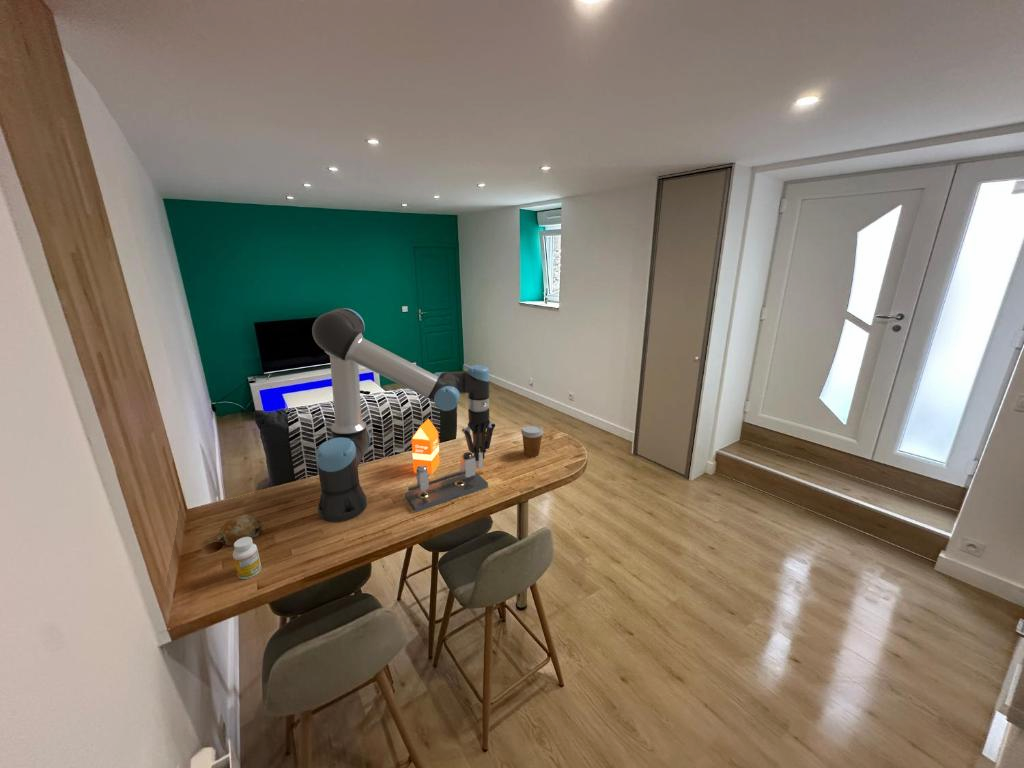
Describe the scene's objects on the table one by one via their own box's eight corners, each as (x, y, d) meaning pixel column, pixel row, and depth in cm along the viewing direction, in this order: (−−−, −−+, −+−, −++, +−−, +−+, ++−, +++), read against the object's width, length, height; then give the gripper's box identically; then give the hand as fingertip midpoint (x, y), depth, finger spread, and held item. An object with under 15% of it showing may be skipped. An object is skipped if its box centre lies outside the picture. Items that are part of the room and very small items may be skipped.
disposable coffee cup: (541, 460, 167) (542, 434, 163) (518, 458, 169) (519, 432, 165) (543, 450, 176) (544, 425, 172) (522, 448, 178) (523, 423, 174)
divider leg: (465, 482, 144) (465, 457, 141) (460, 477, 147) (460, 453, 144) (475, 478, 146) (475, 455, 143) (470, 474, 149) (469, 450, 147)
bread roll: (250, 555, 117) (258, 532, 116) (210, 548, 113) (218, 525, 112) (259, 533, 126) (268, 512, 125) (223, 527, 122) (231, 505, 121)
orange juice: (439, 463, 163) (437, 418, 157) (432, 474, 155) (429, 427, 149) (421, 461, 165) (419, 417, 159) (413, 472, 156) (410, 425, 150)
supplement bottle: (239, 568, 107) (232, 538, 104) (262, 562, 110) (256, 532, 107) (236, 582, 103) (228, 551, 100) (260, 575, 105) (253, 545, 102)
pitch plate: (415, 512, 132) (413, 478, 128) (405, 498, 140) (402, 465, 136) (487, 487, 147) (487, 455, 143) (474, 475, 155) (474, 445, 151)
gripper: (467, 415, 135) (468, 476, 142) (499, 408, 142) (499, 466, 149) (457, 408, 141) (459, 467, 148) (489, 402, 148) (489, 458, 155)
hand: (479, 467), depth 149 cm, fingers closed
